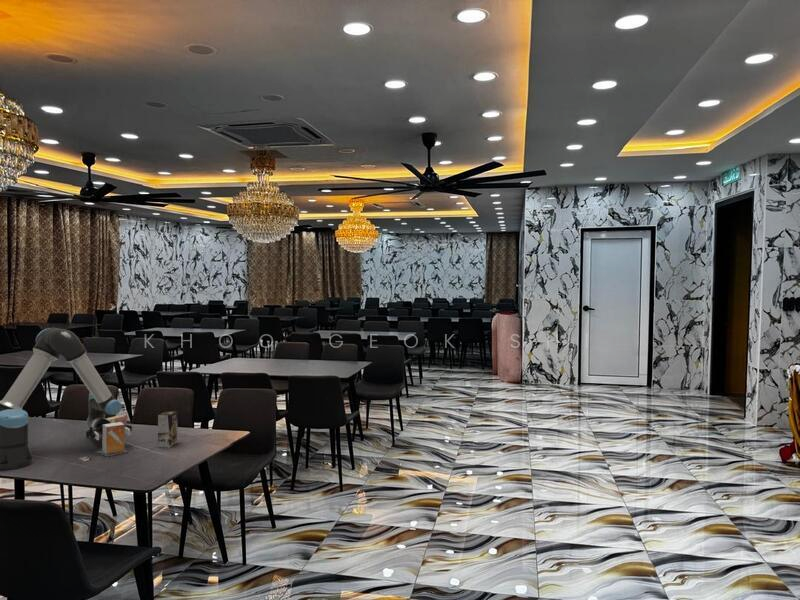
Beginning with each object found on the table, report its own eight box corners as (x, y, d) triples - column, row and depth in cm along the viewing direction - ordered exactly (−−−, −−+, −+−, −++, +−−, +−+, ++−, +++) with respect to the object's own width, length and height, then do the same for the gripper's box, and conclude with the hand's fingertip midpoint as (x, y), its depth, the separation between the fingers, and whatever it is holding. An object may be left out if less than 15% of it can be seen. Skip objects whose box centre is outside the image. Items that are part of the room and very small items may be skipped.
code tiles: (84, 461, 253) (84, 460, 253) (78, 458, 257) (78, 458, 257) (92, 459, 256) (92, 459, 256) (86, 456, 260) (86, 456, 260)
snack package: (118, 425, 320) (118, 413, 320) (128, 425, 318) (128, 414, 318) (88, 434, 299) (88, 421, 299) (98, 435, 298) (98, 422, 297)
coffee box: (170, 447, 276) (170, 415, 276) (157, 447, 276) (157, 414, 276) (177, 442, 285) (178, 411, 285) (165, 442, 285) (165, 410, 285)
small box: (106, 454, 261) (106, 426, 261) (102, 451, 266) (102, 424, 266) (124, 451, 267) (124, 424, 266) (120, 448, 271) (120, 421, 271)
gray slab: (107, 457, 259) (107, 456, 259) (97, 453, 265) (97, 451, 265) (128, 452, 267) (128, 451, 267) (118, 448, 273) (118, 447, 273)
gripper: (128, 429, 290) (141, 438, 275) (73, 437, 274) (84, 447, 258) (128, 415, 290) (141, 423, 274) (73, 422, 274) (84, 431, 258)
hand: (114, 434), depth 266 cm, fingers open, 13 cm apart
